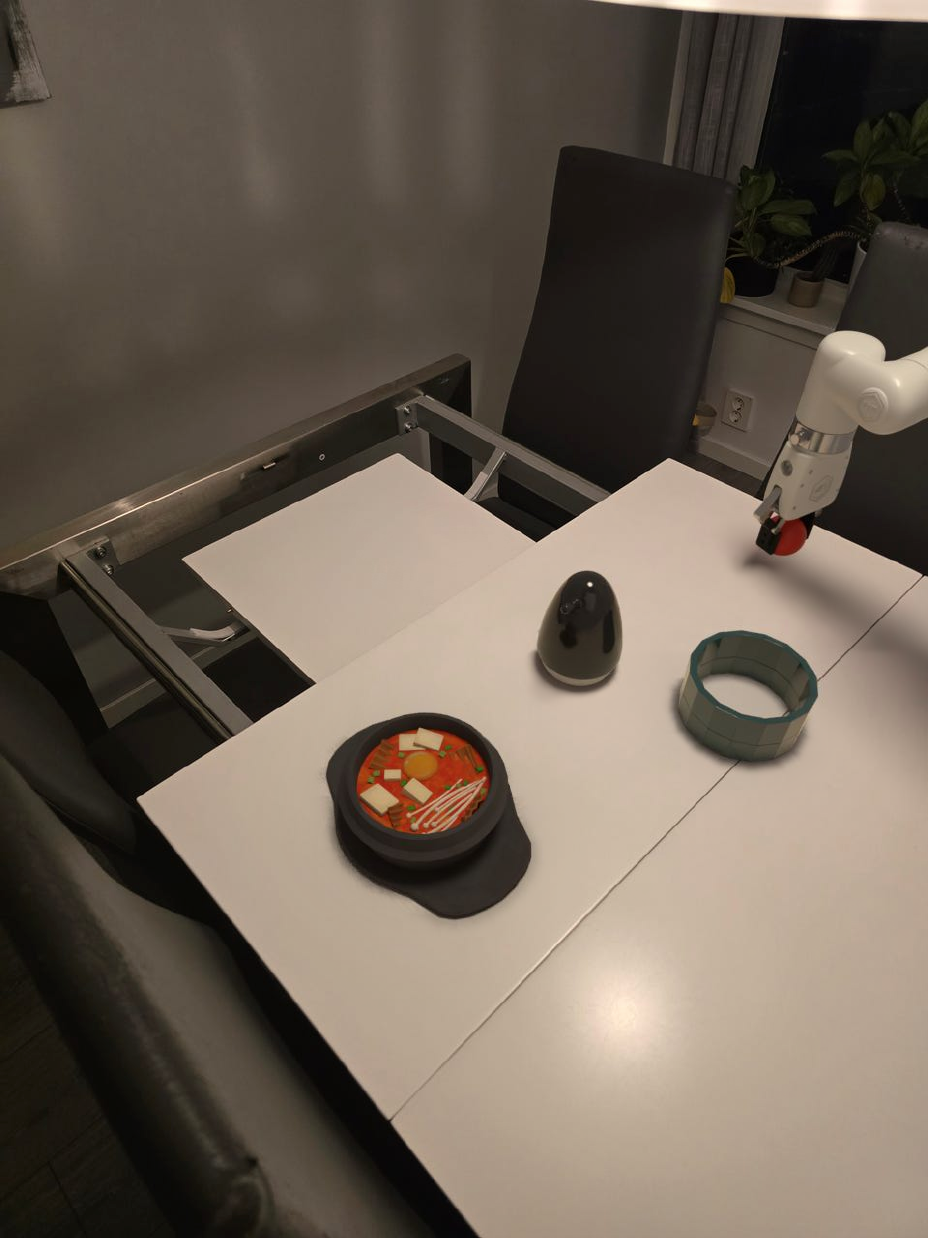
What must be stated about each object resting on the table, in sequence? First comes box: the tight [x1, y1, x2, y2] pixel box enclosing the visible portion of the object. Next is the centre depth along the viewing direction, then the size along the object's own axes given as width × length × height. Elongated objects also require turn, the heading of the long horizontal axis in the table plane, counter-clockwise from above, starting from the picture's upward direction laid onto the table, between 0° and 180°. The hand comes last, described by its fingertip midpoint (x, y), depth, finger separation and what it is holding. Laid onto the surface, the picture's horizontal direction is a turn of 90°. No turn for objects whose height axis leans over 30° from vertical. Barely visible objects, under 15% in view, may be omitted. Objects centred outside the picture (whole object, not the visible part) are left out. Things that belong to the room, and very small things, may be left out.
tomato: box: [771, 514, 807, 557], centre depth 112 cm, size 6×6×7 cm
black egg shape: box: [536, 569, 624, 687], centre depth 92 cm, size 10×10×15 cm
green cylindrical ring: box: [677, 629, 819, 762], centre depth 89 cm, size 14×14×8 cm
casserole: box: [325, 711, 532, 917], centre depth 80 cm, size 25×19×8 cm
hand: (781, 541), depth 113 cm, fingers closed on tomato, 6 cm apart
